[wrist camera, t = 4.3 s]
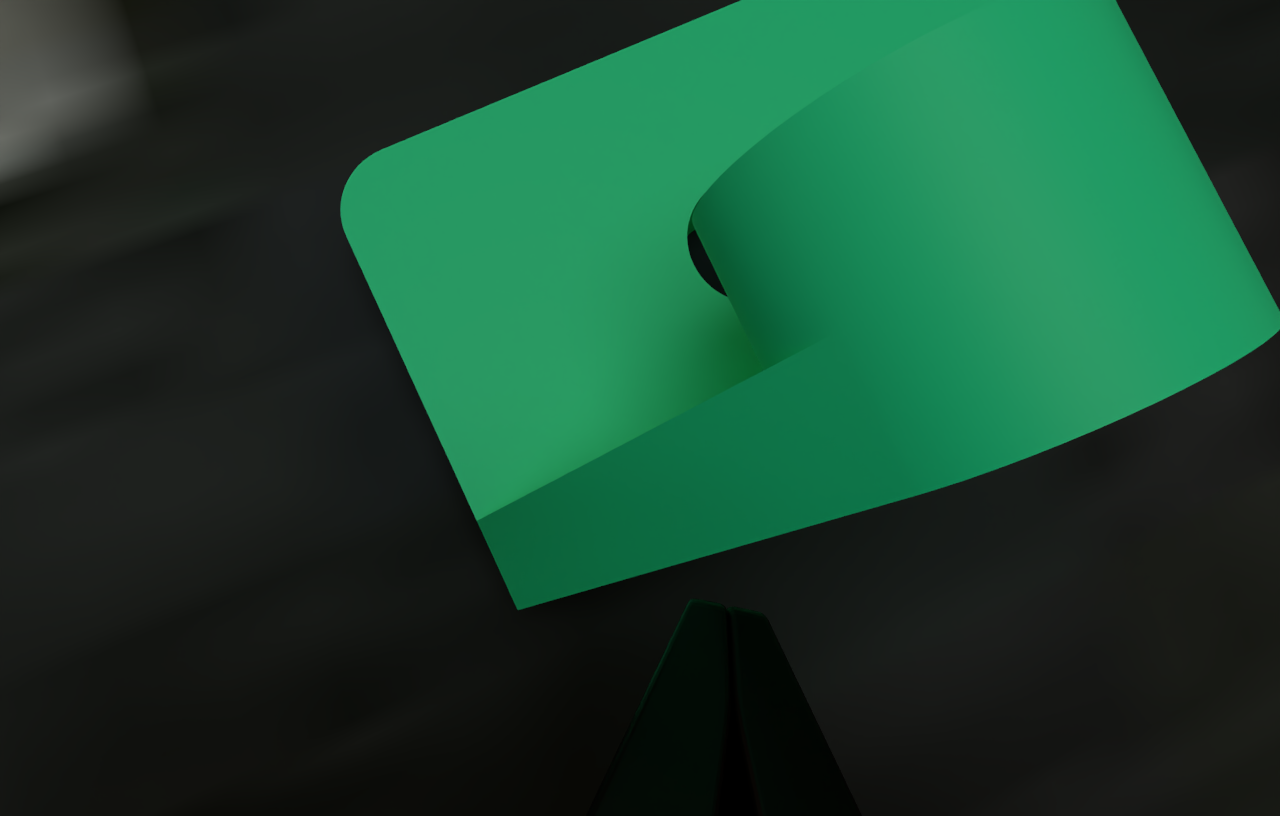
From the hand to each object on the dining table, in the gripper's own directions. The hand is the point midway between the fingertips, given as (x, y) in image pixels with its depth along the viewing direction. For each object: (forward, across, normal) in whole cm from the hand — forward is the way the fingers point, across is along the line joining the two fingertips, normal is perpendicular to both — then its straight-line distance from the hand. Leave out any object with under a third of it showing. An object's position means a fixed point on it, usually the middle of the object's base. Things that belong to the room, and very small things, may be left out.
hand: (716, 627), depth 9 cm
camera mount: (+9, 0, +1) cm, 9 cm away
